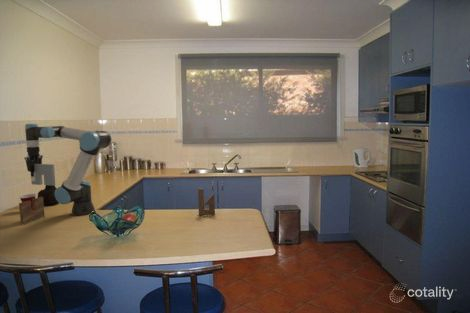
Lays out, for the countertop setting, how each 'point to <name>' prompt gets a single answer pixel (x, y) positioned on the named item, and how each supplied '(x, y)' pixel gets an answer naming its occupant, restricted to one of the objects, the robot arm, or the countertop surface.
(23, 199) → the plastic cup
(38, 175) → the notched grey panel
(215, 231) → the countertop surface
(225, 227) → the countertop surface
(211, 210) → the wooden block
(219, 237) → the countertop surface
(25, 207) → the walnut board
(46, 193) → the dark brown vase
